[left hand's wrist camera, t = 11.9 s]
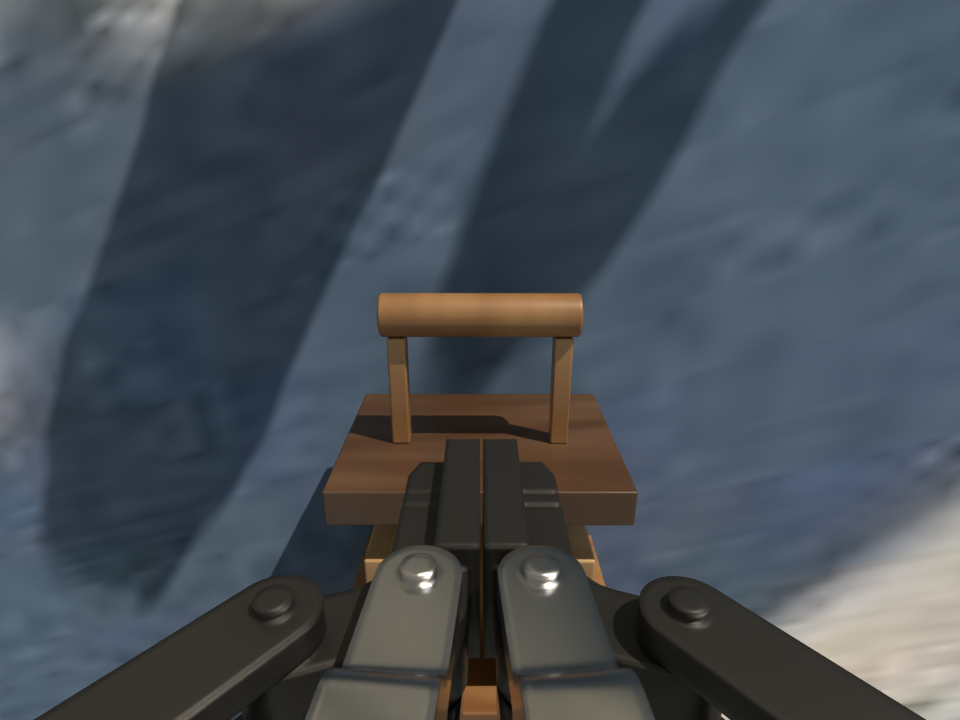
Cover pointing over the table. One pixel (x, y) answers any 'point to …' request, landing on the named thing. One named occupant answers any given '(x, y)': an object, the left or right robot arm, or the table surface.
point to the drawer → (479, 427)
